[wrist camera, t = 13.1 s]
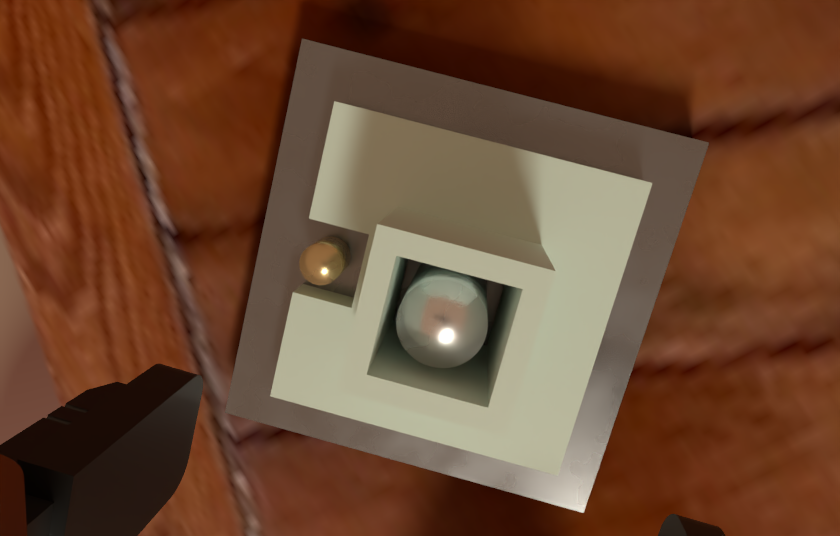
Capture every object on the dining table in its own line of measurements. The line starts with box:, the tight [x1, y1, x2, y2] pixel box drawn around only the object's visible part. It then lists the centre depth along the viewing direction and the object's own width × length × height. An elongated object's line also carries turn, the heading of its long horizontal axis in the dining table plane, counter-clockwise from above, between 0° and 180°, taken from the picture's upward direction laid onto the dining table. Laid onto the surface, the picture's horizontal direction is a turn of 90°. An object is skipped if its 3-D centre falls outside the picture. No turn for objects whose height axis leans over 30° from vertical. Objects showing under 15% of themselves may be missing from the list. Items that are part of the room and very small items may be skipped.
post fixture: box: [225, 39, 709, 513], centre depth 26 cm, size 16×16×8 cm
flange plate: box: [270, 101, 652, 476], centre depth 24 cm, size 12×12×6 cm
